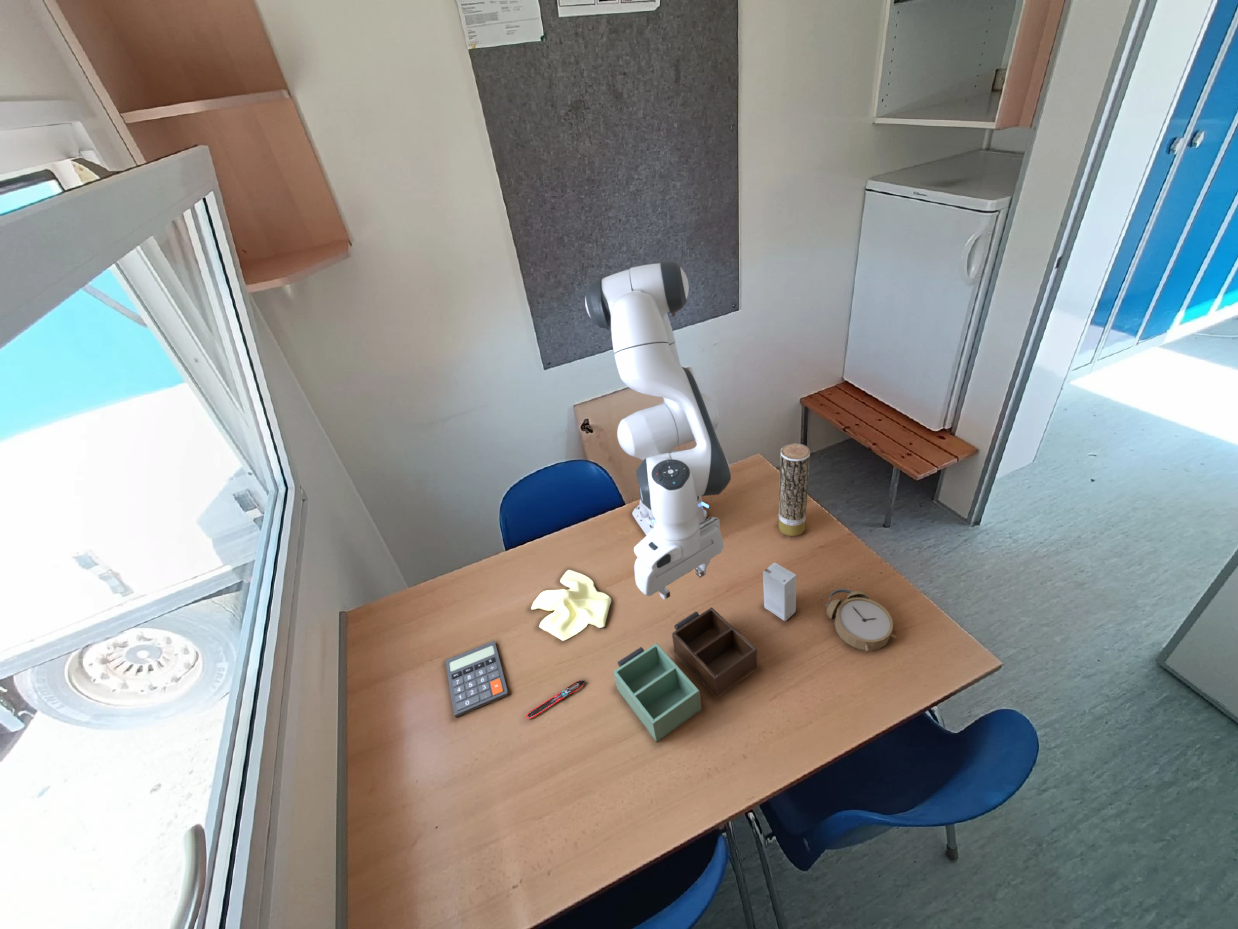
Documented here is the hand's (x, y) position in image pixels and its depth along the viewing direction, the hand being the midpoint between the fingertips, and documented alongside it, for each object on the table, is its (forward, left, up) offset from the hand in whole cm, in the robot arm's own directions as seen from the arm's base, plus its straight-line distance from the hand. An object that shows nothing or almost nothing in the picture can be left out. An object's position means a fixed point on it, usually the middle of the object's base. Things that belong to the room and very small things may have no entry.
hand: (683, 585), depth 118 cm
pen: (-4, -32, -16) cm, 36 cm away
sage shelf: (+7, -15, -16) cm, 23 cm away
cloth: (-25, -17, -16) cm, 34 cm away
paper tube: (-9, +42, -16) cm, 46 cm away
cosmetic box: (+8, +20, -16) cm, 27 cm away
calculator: (-20, -44, -16) cm, 51 cm away
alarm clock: (+21, +30, -16) cm, 40 cm away
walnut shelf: (+7, 0, -16) cm, 17 cm away
